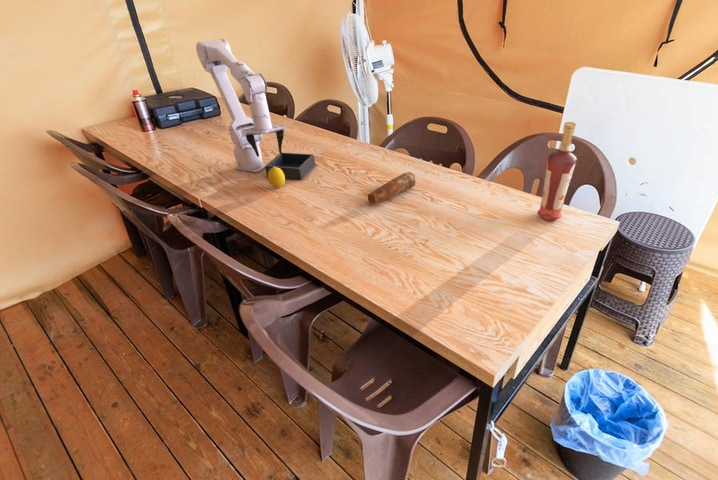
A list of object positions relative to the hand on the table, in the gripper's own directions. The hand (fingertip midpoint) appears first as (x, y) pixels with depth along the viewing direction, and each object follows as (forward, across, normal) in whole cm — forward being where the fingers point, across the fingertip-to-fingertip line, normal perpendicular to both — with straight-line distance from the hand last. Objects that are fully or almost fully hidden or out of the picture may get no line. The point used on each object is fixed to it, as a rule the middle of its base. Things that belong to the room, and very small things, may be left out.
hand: (269, 154), depth 141 cm
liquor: (+10, +77, -58) cm, 97 cm away
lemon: (+10, +1, -8) cm, 13 cm away
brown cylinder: (+10, +36, -28) cm, 47 cm away
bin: (+9, +7, +5) cm, 13 cm away
